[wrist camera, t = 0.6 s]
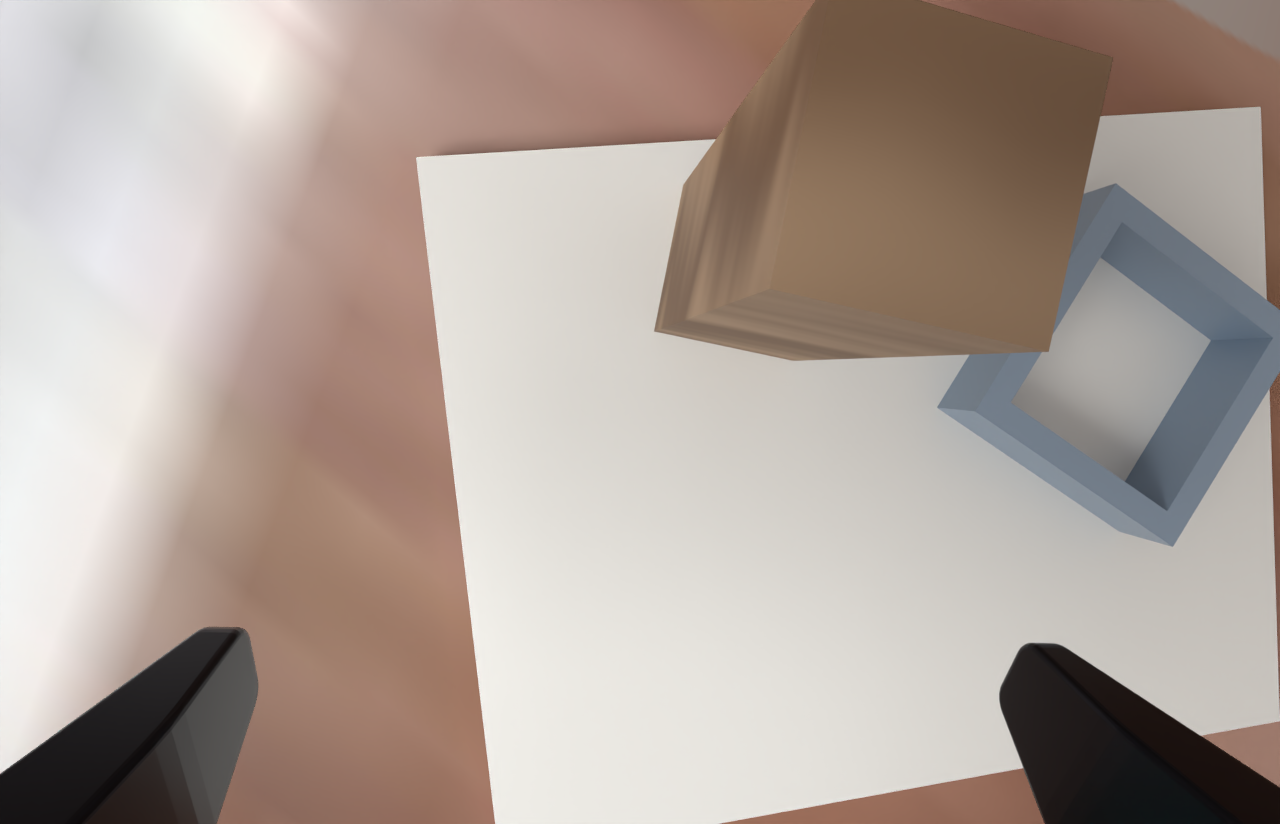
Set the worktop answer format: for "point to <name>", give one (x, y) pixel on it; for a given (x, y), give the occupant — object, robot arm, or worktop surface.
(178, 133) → the worktop surface
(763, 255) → the walnut column
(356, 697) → the worktop surface
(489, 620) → the white rectangular sheet
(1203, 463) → the socket
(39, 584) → the worktop surface
